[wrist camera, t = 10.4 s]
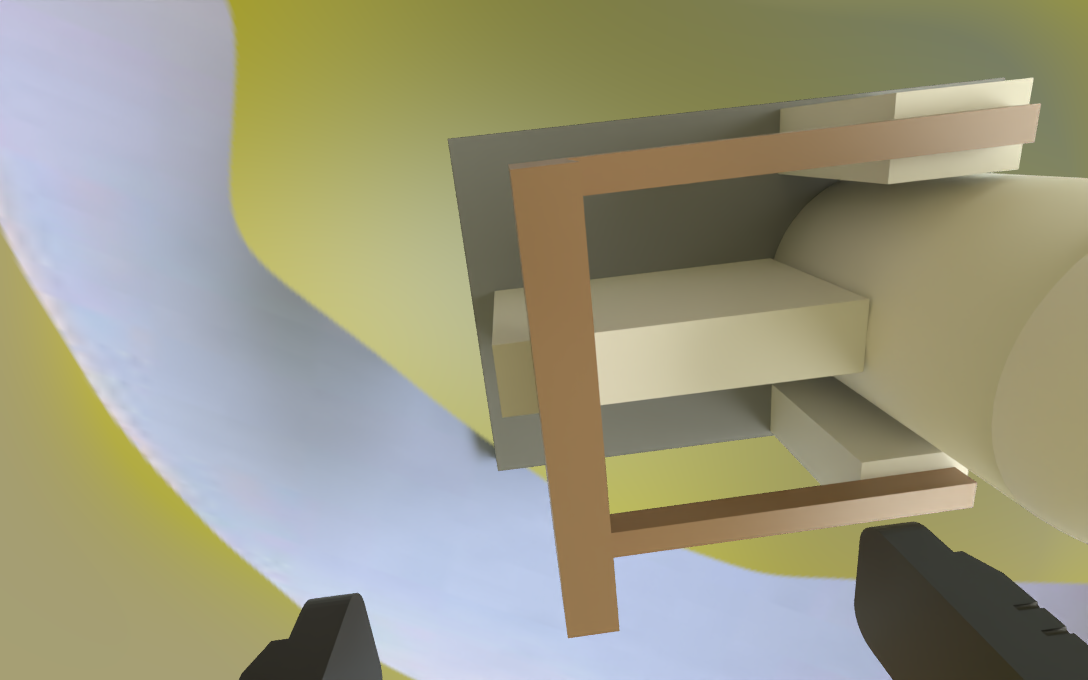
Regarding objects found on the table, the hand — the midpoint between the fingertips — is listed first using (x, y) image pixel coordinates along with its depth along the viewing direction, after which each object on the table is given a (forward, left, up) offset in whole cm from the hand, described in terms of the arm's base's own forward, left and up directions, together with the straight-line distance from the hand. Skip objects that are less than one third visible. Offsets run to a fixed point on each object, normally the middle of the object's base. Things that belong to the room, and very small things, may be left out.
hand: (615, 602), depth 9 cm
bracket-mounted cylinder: (-8, 0, -17) cm, 19 cm away
